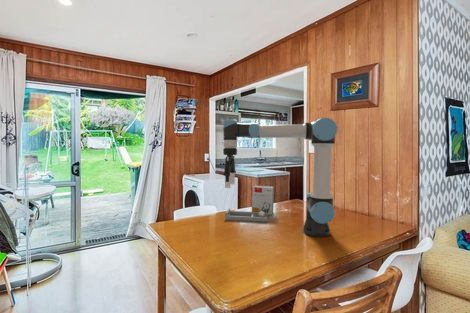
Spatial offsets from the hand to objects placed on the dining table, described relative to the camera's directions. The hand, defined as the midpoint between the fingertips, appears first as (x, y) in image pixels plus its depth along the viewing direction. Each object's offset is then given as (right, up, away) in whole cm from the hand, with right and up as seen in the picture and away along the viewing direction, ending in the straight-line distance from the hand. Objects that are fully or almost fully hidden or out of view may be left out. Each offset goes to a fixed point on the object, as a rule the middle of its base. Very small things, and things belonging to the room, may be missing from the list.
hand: (230, 186), depth 143 cm
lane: (+11, -27, +35) cm, 45 cm away
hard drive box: (+24, -26, +50) cm, 61 cm away
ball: (+21, -23, +33) cm, 45 cm away
